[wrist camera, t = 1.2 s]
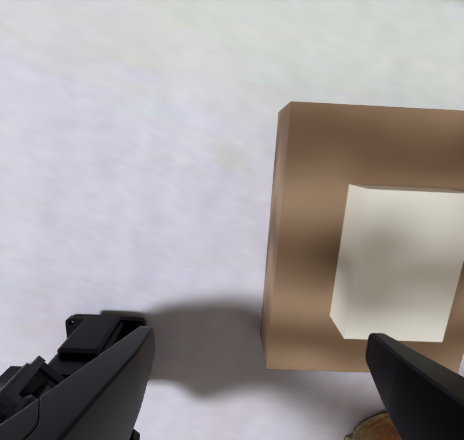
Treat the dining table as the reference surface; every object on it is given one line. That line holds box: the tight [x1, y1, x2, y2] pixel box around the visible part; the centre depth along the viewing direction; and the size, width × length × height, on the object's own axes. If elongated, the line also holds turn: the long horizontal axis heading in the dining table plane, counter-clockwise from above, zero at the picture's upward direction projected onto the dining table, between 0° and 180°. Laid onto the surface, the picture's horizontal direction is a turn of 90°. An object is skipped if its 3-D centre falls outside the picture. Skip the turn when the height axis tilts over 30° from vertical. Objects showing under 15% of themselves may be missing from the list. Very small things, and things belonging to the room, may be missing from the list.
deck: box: [260, 102, 464, 374], centre depth 20 cm, size 18×14×4 cm
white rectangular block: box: [330, 184, 464, 342], centre depth 16 cm, size 9×6×2 cm, turn 177°
